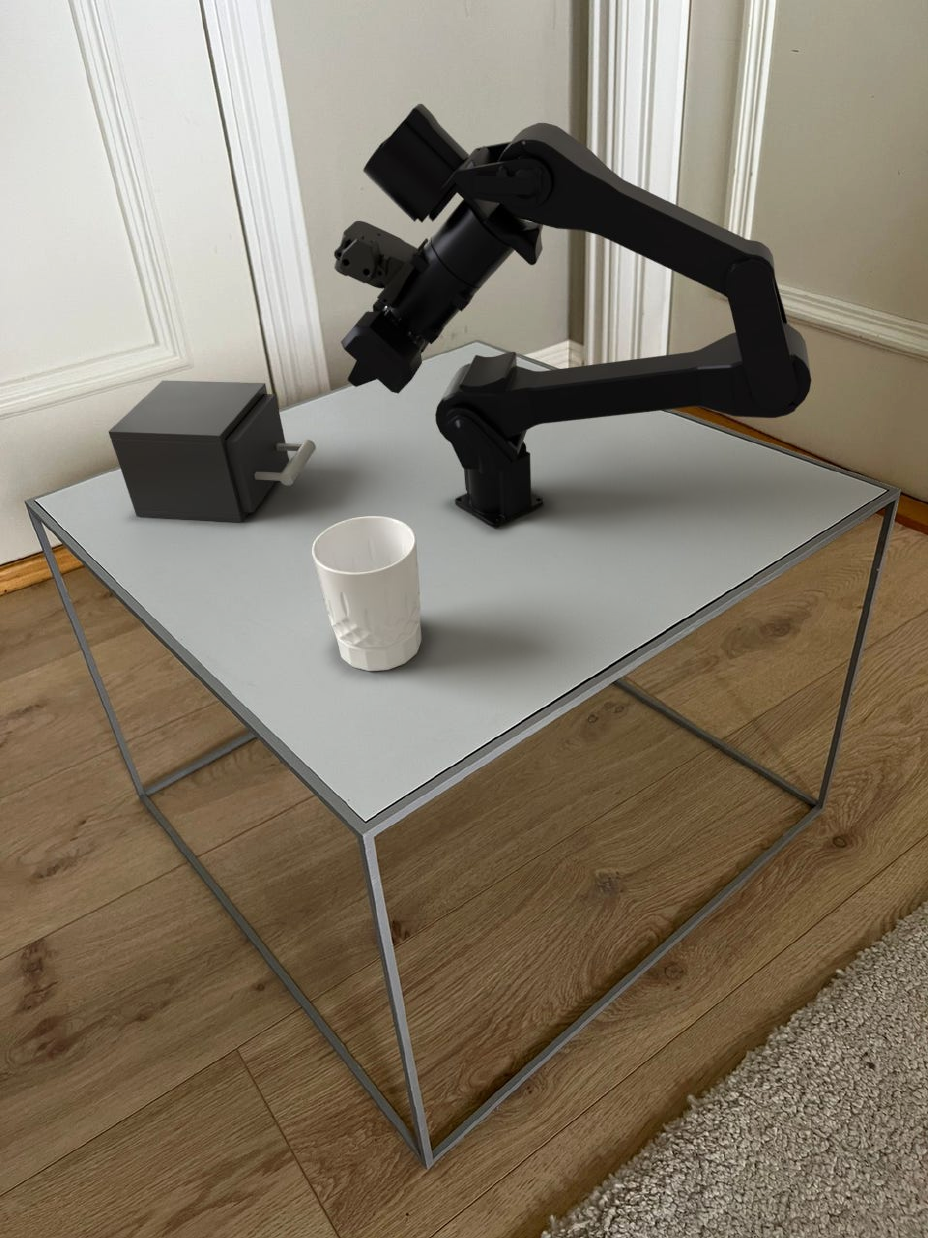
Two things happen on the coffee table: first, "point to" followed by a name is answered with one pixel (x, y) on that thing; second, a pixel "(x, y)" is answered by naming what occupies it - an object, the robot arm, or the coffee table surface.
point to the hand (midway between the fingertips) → (352, 381)
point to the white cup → (371, 590)
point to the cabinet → (184, 449)
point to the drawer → (263, 453)
